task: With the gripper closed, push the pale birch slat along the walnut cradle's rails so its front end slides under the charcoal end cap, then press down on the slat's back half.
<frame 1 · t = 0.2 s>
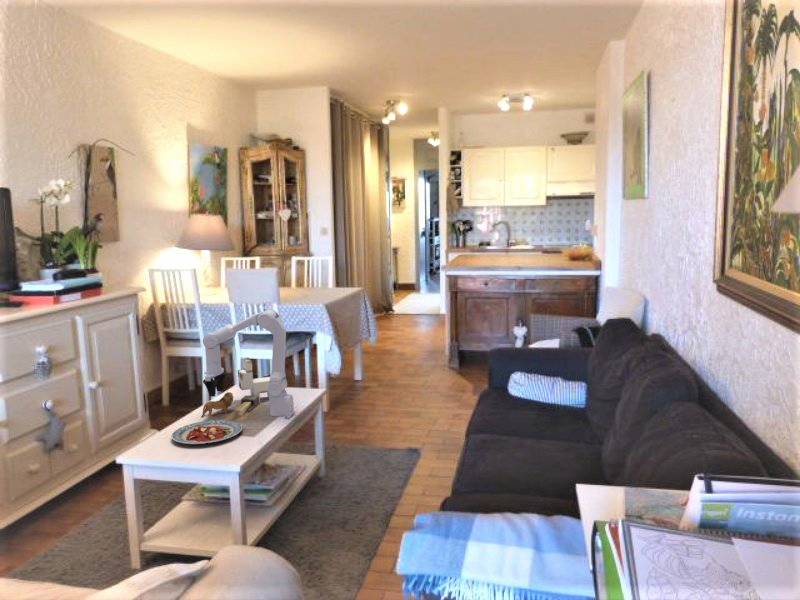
hand: (216, 393, 257), 10 cm above the table, tool pointing down, fingers open, 7 cm apart
cradle: (243, 413, 261), on the table
toy llama: (261, 402, 277), on the table
lion figurine: (218, 415, 260), on the table
slat: (243, 411, 261), point 1 cm above the table, touching cradle
ceramic plate: (207, 437, 235), on the table
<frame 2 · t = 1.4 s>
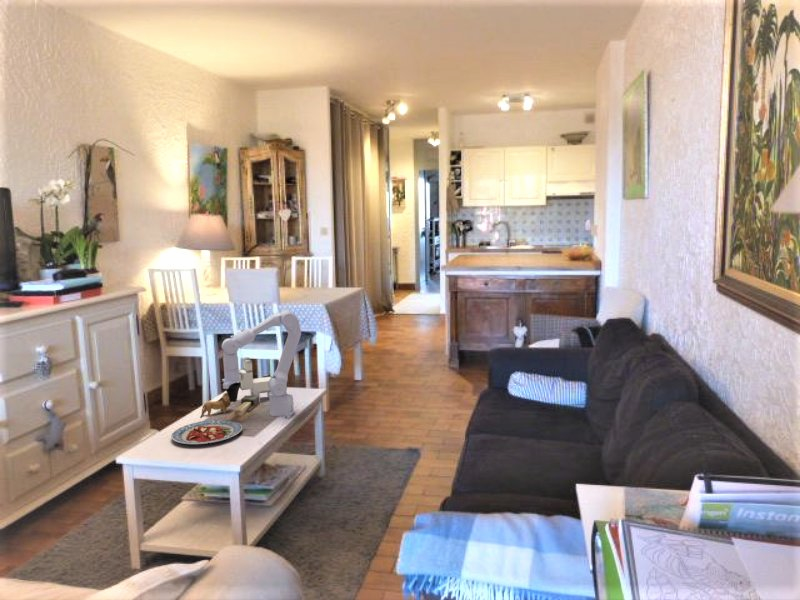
hand: (233, 401, 250), 8 cm above the table, tool pointing down, fingers closed
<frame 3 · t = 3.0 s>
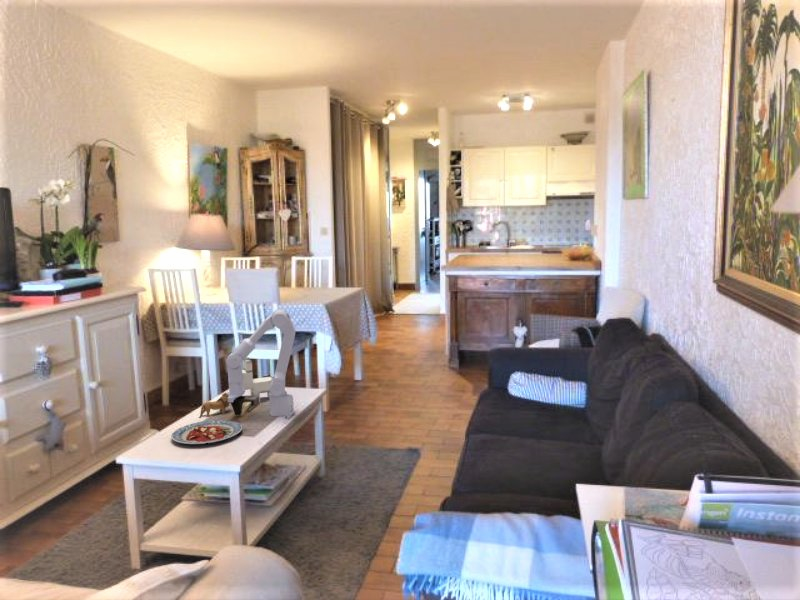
hand: (237, 414, 254), 2 cm above the table, tool pointing down, fingers closed
slat: (244, 411, 262), point 1 cm above the table, touching cradle, gripper
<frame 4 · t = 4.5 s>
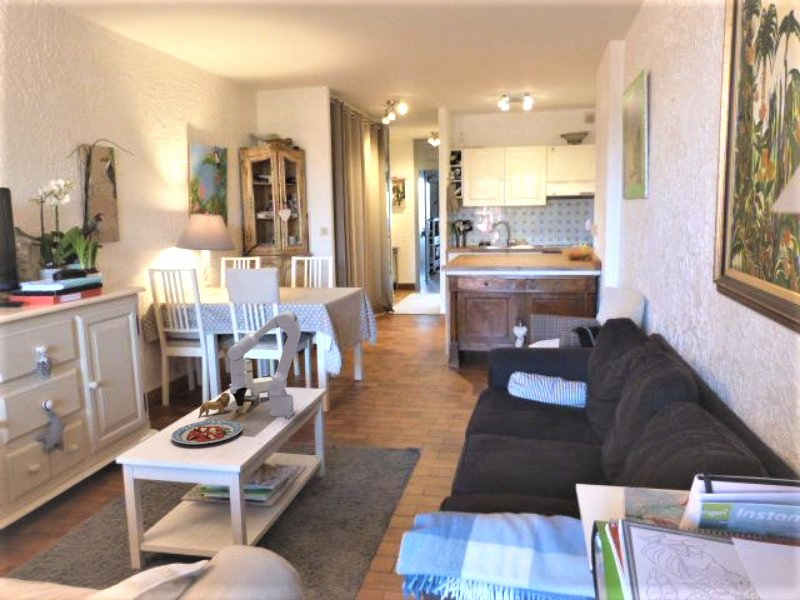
hand: (240, 405, 257), 4 cm above the table, tool pointing down, fingers closed
slat: (246, 409, 265), point 1 cm above the table, touching cradle
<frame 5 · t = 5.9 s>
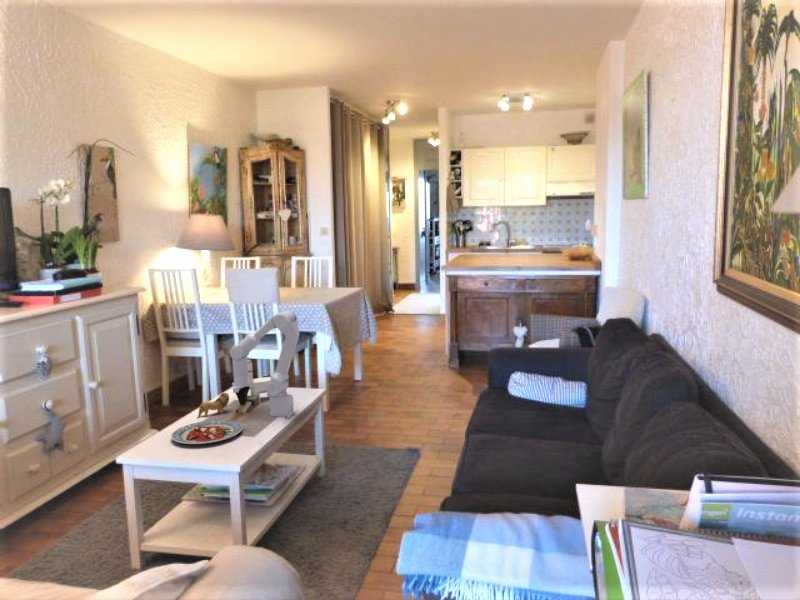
hand: (242, 404, 260), 4 cm above the table, tool pointing down, fingers closed
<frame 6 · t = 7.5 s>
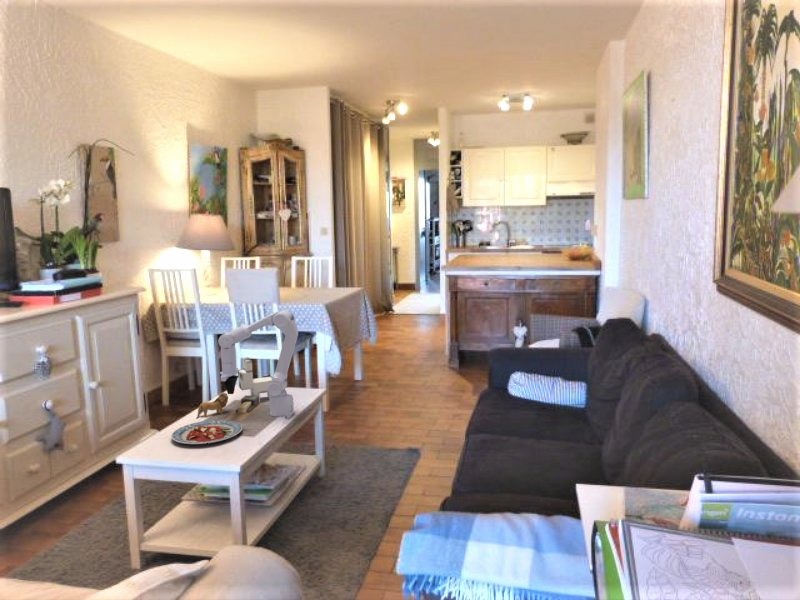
hand: (230, 393, 257), 9 cm above the table, tool pointing down, fingers closed
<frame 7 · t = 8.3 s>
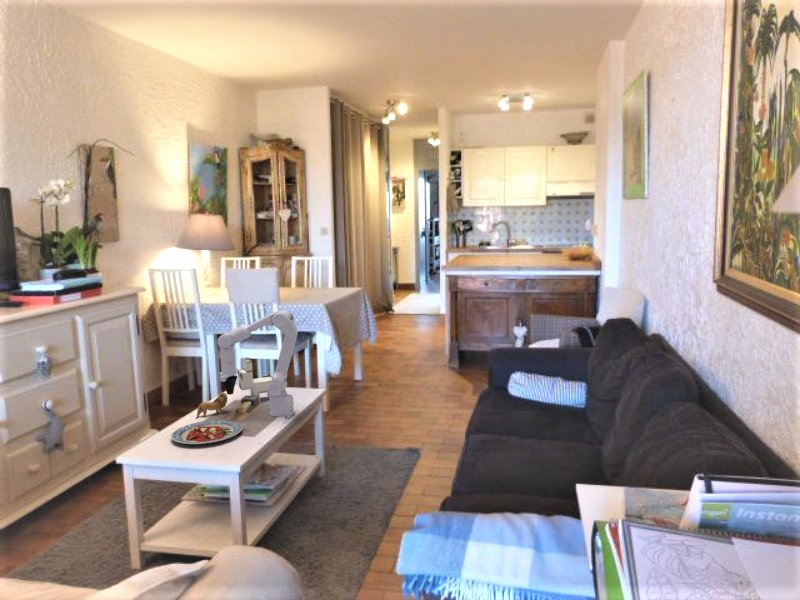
hand: (230, 394, 257), 9 cm above the table, tool pointing down, fingers closed
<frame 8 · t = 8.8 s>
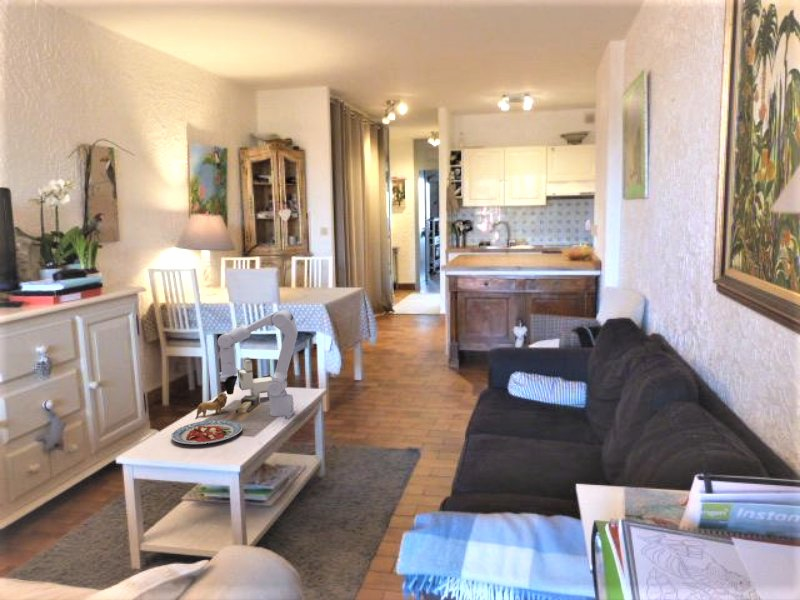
hand: (230, 394, 257), 9 cm above the table, tool pointing down, fingers closed
at the end: slat 0.1 cm from the target spot on the cradle, point 0.8 cm above the cradle's base; slat tilted 0°; the gripper is holding nothing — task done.
